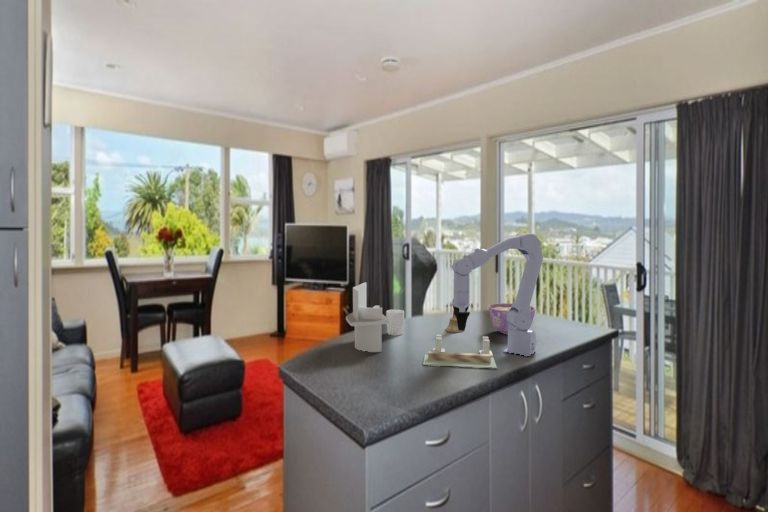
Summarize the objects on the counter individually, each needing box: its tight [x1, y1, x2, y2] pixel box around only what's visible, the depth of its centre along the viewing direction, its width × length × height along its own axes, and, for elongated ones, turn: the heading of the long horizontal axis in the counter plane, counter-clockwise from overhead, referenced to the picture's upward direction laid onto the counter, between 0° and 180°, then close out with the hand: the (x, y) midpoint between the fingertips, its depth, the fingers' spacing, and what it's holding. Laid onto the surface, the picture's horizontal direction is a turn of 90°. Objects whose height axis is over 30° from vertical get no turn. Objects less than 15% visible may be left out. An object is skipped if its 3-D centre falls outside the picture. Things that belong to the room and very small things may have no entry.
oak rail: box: [427, 350, 491, 363], centre depth 143 cm, size 21×2×2 cm, turn 81°
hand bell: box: [444, 297, 464, 333], centre depth 188 cm, size 8×8×16 cm
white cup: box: [385, 309, 405, 337], centre depth 182 cm, size 8×8×10 cm
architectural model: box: [345, 281, 389, 353], centre depth 163 cm, size 28×21×23 cm
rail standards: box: [432, 334, 494, 358], centre depth 153 cm, size 21×6×6 cm, turn 81°
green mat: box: [422, 353, 498, 369], centre depth 143 cm, size 24×11×1 cm, turn 81°
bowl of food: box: [487, 302, 537, 336], centre depth 183 cm, size 20×20×12 cm
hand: (461, 328), depth 153 cm, fingers open, 7 cm apart
